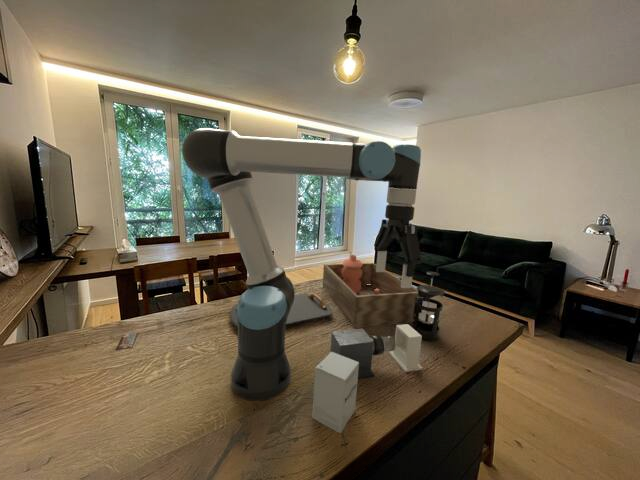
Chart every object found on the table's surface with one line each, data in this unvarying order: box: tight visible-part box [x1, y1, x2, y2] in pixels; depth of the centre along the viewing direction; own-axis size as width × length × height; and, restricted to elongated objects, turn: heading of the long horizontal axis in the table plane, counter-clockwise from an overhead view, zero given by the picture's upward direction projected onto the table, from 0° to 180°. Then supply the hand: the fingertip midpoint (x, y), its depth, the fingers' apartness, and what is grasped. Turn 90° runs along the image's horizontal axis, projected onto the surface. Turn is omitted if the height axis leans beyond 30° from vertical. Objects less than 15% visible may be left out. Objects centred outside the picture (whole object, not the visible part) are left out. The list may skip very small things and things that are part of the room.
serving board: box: [229, 293, 333, 328], centre depth 107 cm, size 39×23×6 cm, turn 119°
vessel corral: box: [322, 262, 423, 329], centre depth 122 cm, size 27×41×12 cm, turn 15°
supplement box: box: [311, 351, 359, 434], centre depth 60 cm, size 7×7×13 cm
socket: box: [388, 323, 424, 373], centre depth 81 cm, size 6×9×10 cm, turn 16°
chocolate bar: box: [115, 331, 140, 351], centre depth 85 cm, size 11×5×1 cm, turn 24°
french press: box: [411, 271, 445, 342], centre depth 96 cm, size 12×9×23 cm
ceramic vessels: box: [342, 254, 381, 295], centre depth 120 cm, size 35×21×19 cm, turn 26°
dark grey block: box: [330, 328, 376, 380], centre depth 76 cm, size 11×9×10 cm
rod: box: [369, 334, 395, 356], centre depth 77 cm, size 16×5×5 cm, turn 105°
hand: (392, 279), depth 79 cm, fingers open, 13 cm apart
